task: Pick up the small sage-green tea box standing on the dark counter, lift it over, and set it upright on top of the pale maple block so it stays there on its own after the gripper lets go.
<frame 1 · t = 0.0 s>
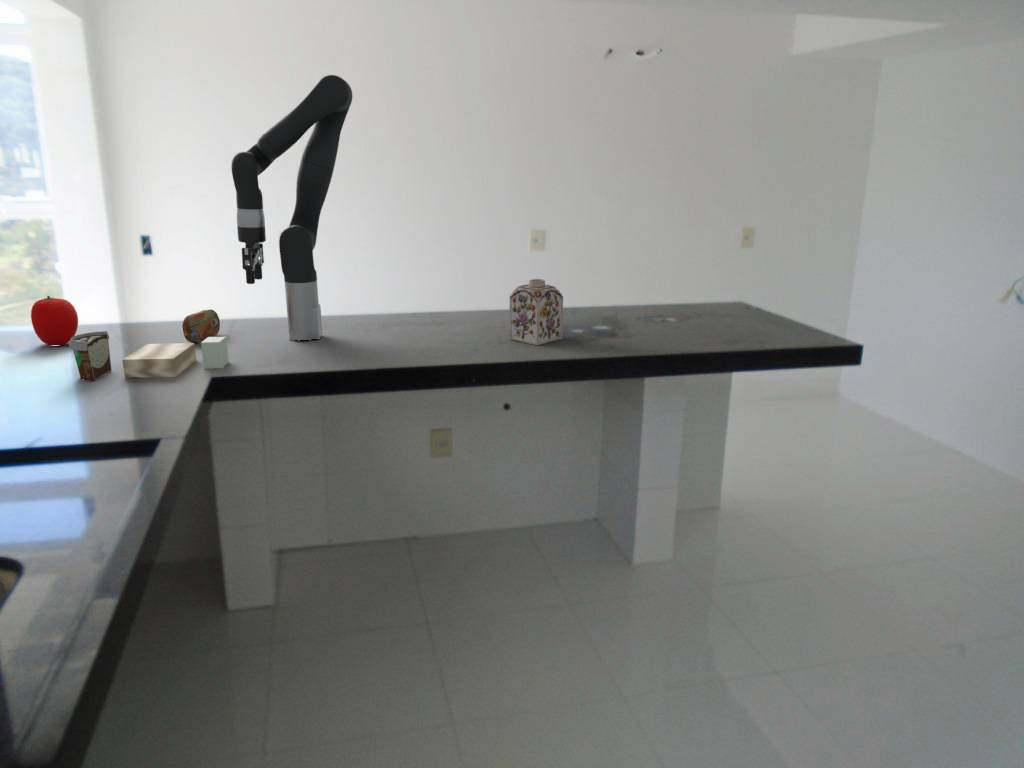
hand: (254, 281, 215), 17 cm above the table, tool pointing down, fingers open, 8 cm apart
tin: (203, 340, 219), on the table
decorative jar: (535, 340, 221), on the table
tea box: (216, 365, 192), on the table
food container: (90, 376, 182), on the table
red apple: (59, 345, 213), on the table
maple block: (162, 369, 189), on the table
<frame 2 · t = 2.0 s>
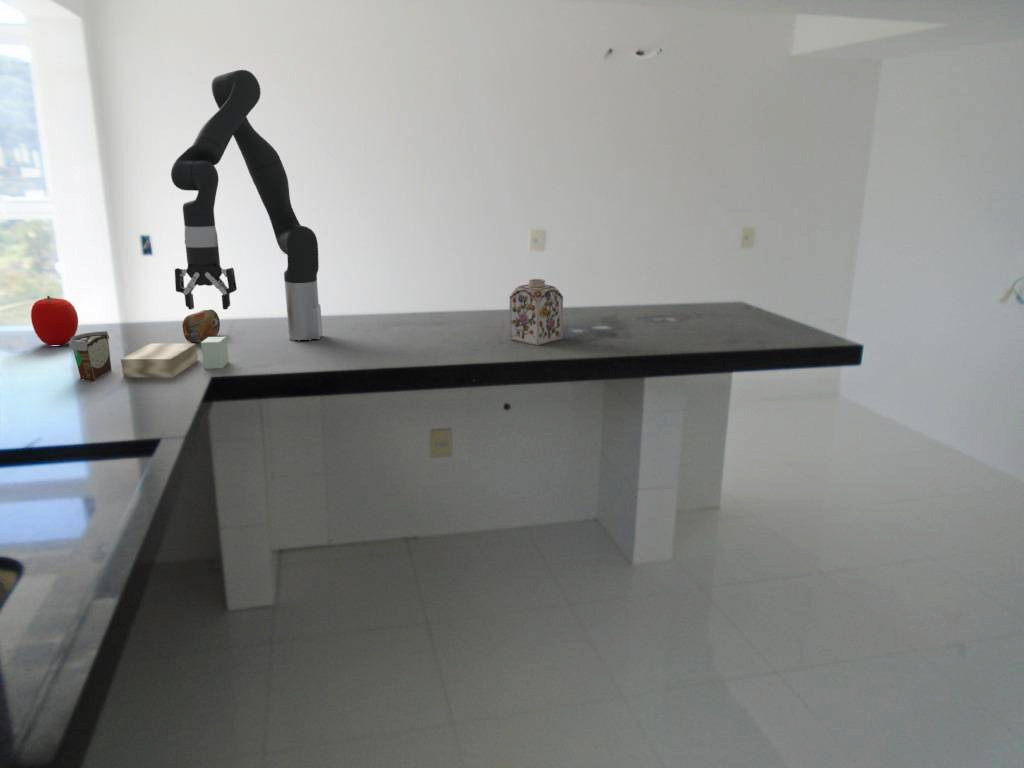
hand: (208, 308, 187), 15 cm above the table, tool pointing down, fingers open, 8 cm apart
nothing on the table moved.
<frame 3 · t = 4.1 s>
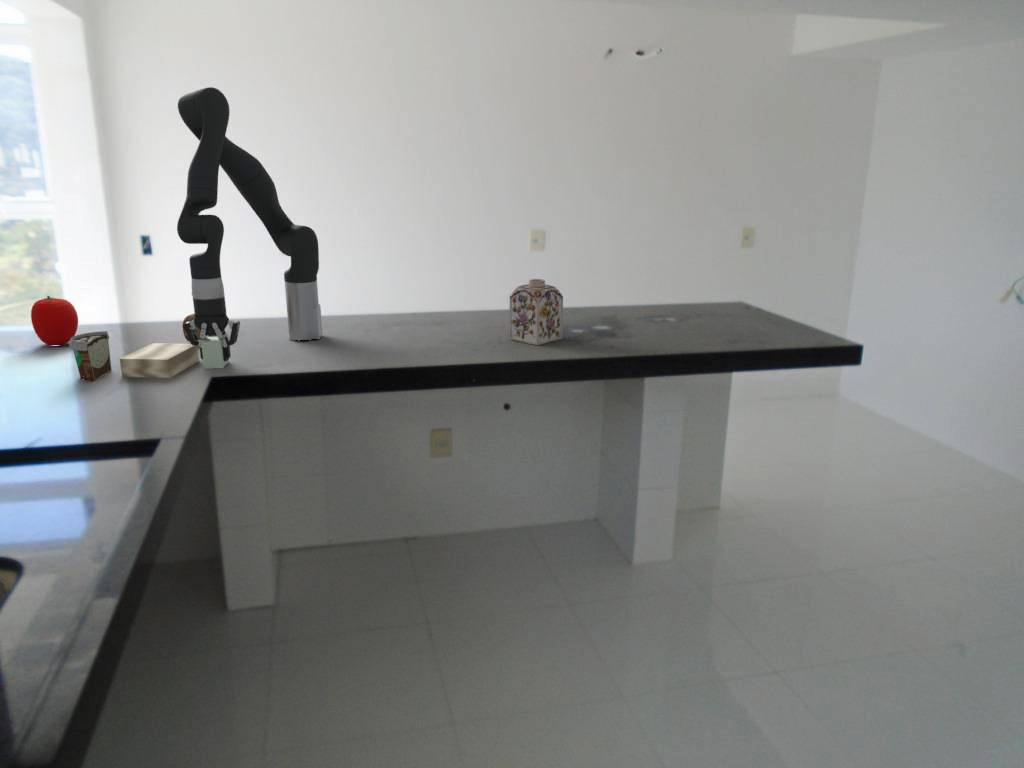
hand: (216, 360, 191), 1 cm above the table, tool pointing down, fingers closed on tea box, 4 cm apart
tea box: (216, 365, 192), on the table, touching gripper
everything else where it was.
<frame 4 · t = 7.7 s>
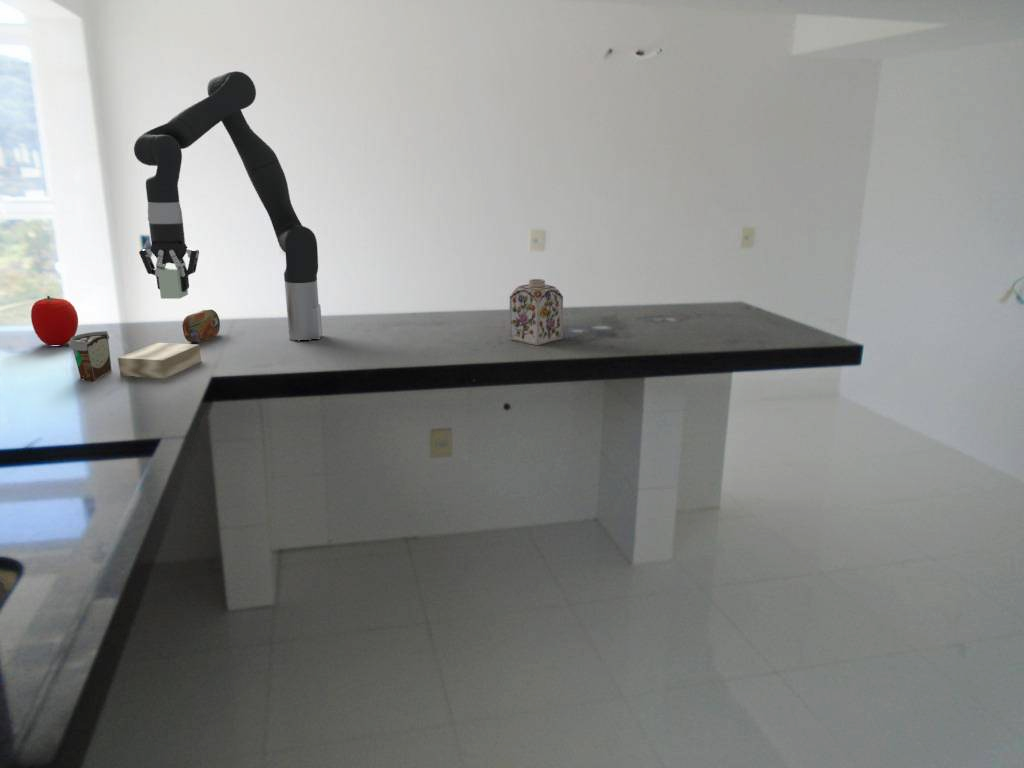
hand: (173, 290, 184), 20 cm above the table, tool pointing down, fingers closed on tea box, 4 cm apart
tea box: (174, 296, 184), point 18 cm above the table, touching gripper
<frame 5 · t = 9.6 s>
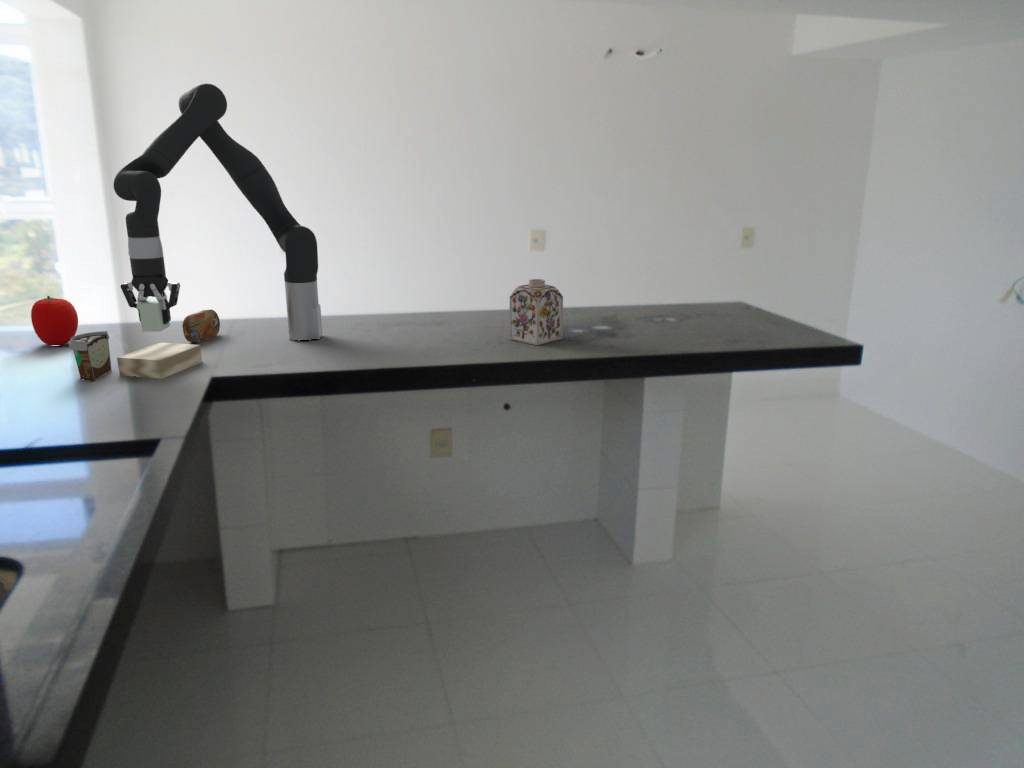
hand: (155, 323, 185), 12 cm above the table, tool pointing down, fingers closed on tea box, 4 cm apart
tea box: (156, 328, 186), point 10 cm above the table, touching gripper
when the fingers open (8 cm above the table, at t = 11.2 s): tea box drops 2 cm, point 5 cm above the table.
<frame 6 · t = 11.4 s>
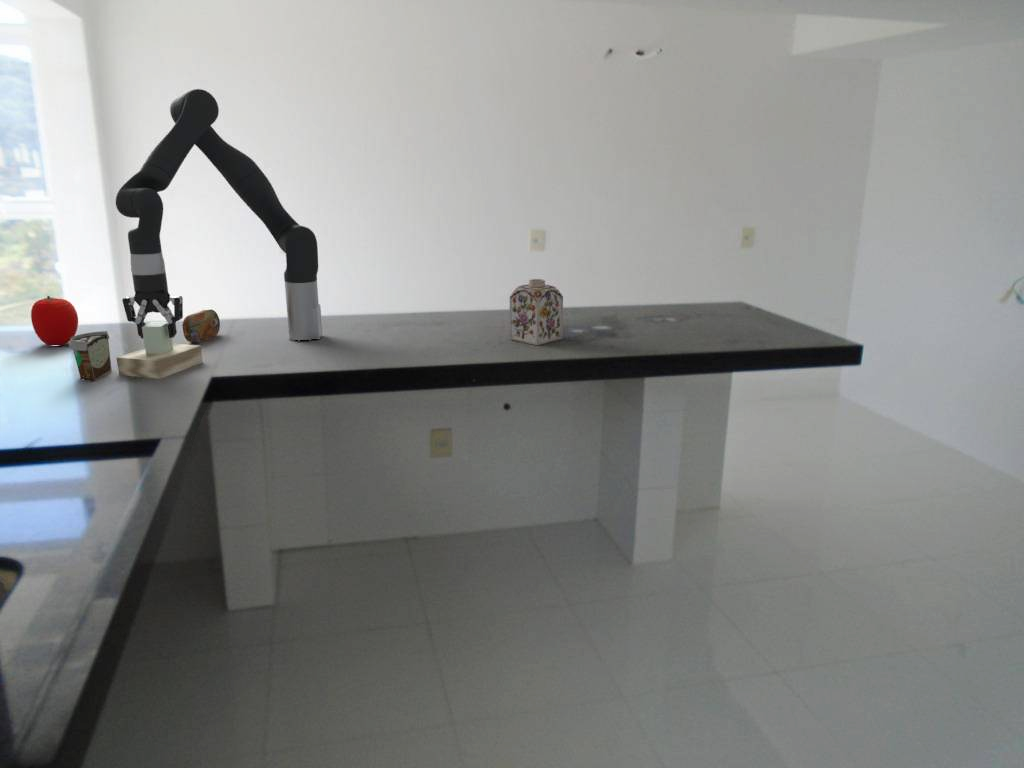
hand: (158, 337, 186), 8 cm above the table, tool pointing down, fingers open, 6 cm apart
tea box: (159, 351, 187), point 5 cm above the table
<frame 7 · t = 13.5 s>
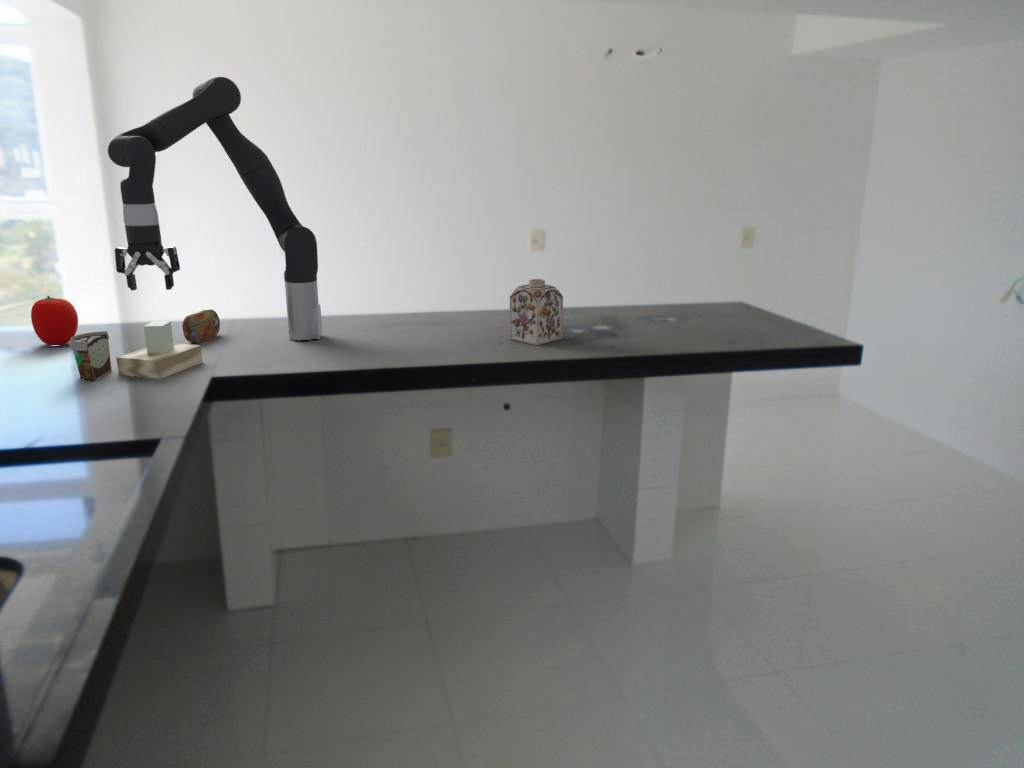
hand: (151, 289, 183), 20 cm above the table, tool pointing down, fingers open, 8 cm apart
nothing on the table moved.
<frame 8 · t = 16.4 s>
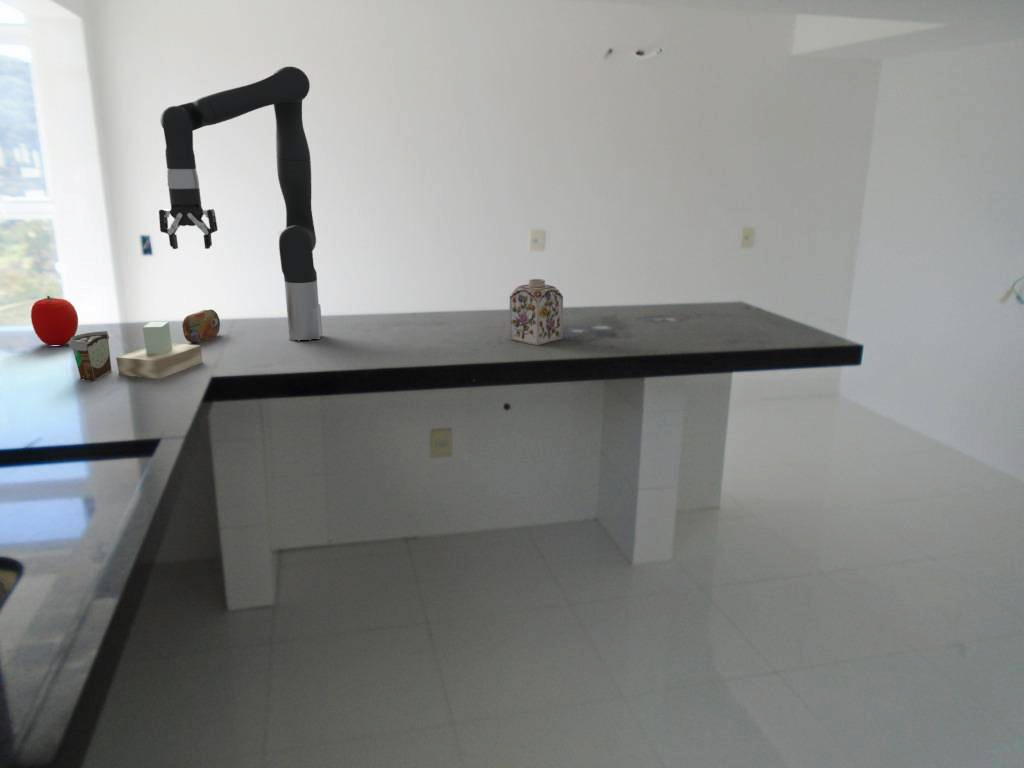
hand: (191, 248, 200), 28 cm above the table, tool pointing down, fingers open, 8 cm apart
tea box: (159, 351, 187), point 5 cm above the table, touching maple block
maple block: (162, 370, 189), on the table, touching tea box
everything else where it was.
at the end: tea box inside the target area on the maple block (0.2 cm from its centre), point 5.0 cm above the maple block's base; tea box tilted 0°; the gripper is holding nothing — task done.
